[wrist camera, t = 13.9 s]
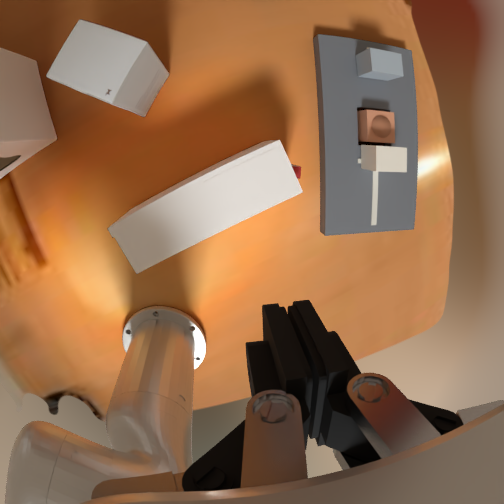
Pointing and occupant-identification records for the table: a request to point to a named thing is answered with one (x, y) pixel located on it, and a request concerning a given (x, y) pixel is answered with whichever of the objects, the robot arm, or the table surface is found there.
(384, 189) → the panel
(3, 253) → the table surface
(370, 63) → the blue-grey slider
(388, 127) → the terracotta button
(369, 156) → the cream slider
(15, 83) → the gable box
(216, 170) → the cigarette display
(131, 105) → the small box
